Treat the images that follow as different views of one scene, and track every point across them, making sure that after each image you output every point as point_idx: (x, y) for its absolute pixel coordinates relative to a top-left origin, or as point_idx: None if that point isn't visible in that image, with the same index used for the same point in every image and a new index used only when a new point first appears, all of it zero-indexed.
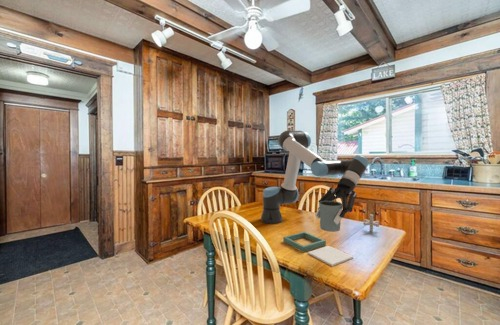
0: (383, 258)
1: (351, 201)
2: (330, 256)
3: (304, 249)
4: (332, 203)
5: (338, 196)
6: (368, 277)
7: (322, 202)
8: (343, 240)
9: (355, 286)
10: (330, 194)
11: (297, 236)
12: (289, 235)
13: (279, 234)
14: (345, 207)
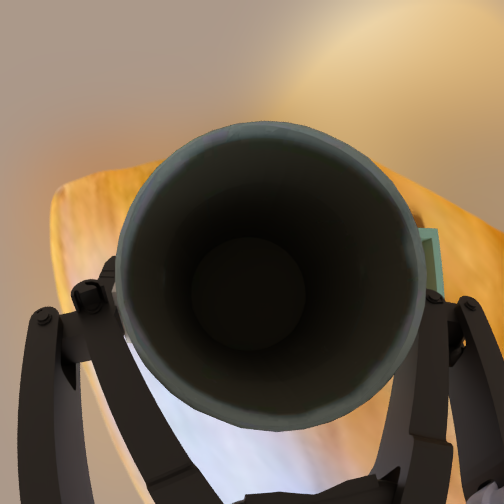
0: (120, 453)
1: (24, 417)
2: None
3: None
4: (342, 384)
5: (324, 494)
6: (66, 280)
7: (406, 264)
8: (317, 469)
9: (67, 202)
10: (475, 462)
11: None
12: (441, 262)
13: (476, 267)
14: (82, 327)
